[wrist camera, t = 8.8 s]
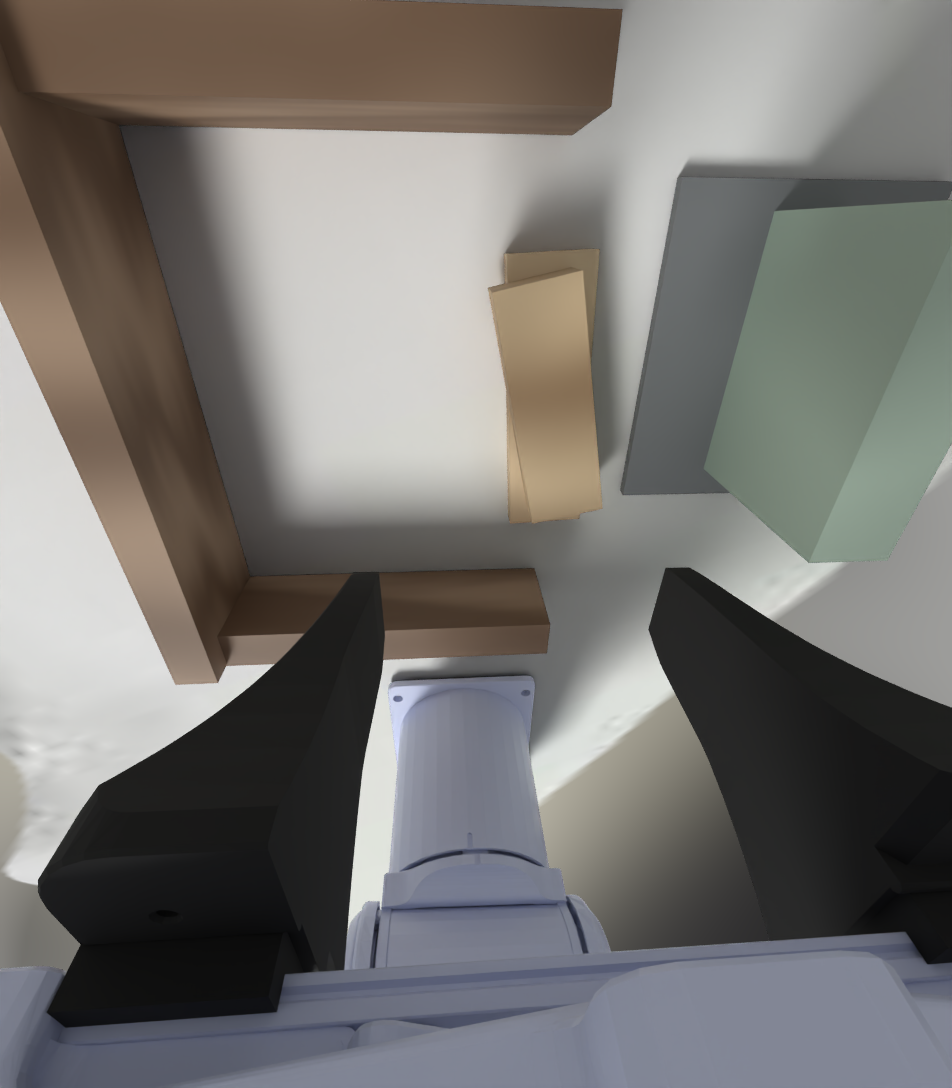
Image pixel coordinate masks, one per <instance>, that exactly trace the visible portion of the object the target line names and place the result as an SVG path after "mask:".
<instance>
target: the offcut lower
mask: <svg viewBox="0 0 952 1088" xmlns="http://www.w3.org/2000/svg"><path fill="white" fill-rule="evenodd" d="M599 251H600V249H578V250H561V251H544V252H526V253H509V254H504V262H505V283H509V282H514V281H518V280H522V279H526V278H530V277H534V276H538V275H542V274H546V273H550V272H554V271H558V270H562V269H566V268H570V267H573V268H576V269H580V270H583V278H584V290H585V302H586V315H587V327H588V339H589V351H590V363H591V357H592V344H593V330H594V317H595V304H596V291H597V277H598V264H599ZM506 403H507V473H508V517H509V521H510V524H512V523H526V522H532V521H531V517H530V514H529V511H528V508H527V504H526V498H525V493H524V487H523V481H522V476H521V470H520V465H519V459H518V453H517V448H516V442H515V437H514V431H513V425H512V420H511V414H510V408H509V403H508V397H507V392H506ZM579 516H580V514H576V515H571V516H566V517H562V518H557V519H552V520H548V521H553V520H567V519H579Z"/></svg>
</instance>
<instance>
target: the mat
mask: <svg viewBox="0 0 952 1088" xmlns="http://www.w3.org/2000/svg"><path fill="white" fill-rule="evenodd" d="M951 191H952V182H947V181H889V180H832V179H774V178H717V177H680V178H677V184H676V189H675V194H674V200H673V205H672V211H671V216H670V222H669V227H668V233H667V238H666V244H665V249H664V255H663V260H662V266H661V271H660V277H659V282H658V287H657V293H656V298H655V304H654V309H653V315H652V320H651V326H650V331H649V337H648V342H647V348H646V353H645V359H644V364H643V369H642V375H641V380H640V386H639V391H638V397H637V402H636V408H635V413H634V419H633V424H632V430H631V435H630V441H629V446H628V451H627V457H626V462H625V468H624V473H623V479H622V484H621V490H620V491H621V493H622V494H623V495H649V494H697V493H730V492H729V491H728V490H727V489H726V488H724V487H723V486H722V485H721V484H720V483H719V482H718V481H717V480H715V479H714V478H713V477H712V476H711V475H710V474H709V473H708V472H707V471H705V470H704V465H705V462H706V458H707V454H708V451H709V447H710V444H711V440H712V436H713V433H714V429H715V425H716V422H717V418H718V414H719V411H720V407H721V404H722V400H723V396H724V393H725V389H726V385H727V382H728V378H729V375H730V371H731V367H732V364H733V360H734V356H735V353H736V349H737V346H738V342H739V338H740V335H741V331H742V327H743V324H744V320H745V316H746V313H747V309H748V306H749V302H750V298H751V295H752V291H753V287H754V284H755V280H756V277H757V273H758V269H759V266H760V262H761V258H762V255H763V251H764V247H765V244H766V240H767V237H768V233H769V229H770V226H771V222H772V218H773V215H774V211H784V210H799V209H815V208H831V207H847V206H863V205H879V204H894V203H910V202H926V201H942V200H948V198H949V196H950V194H951Z"/></svg>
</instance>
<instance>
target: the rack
mask: <svg viewBox="0 0 952 1088" xmlns="http://www.w3.org/2000/svg"><path fill="white" fill-rule="evenodd" d="M622 10H623V9H599V8H573V7H546V6H519V5H492V4H465V3H438V2H412V1H385V0H0V302H1V304H2V306H3V308H4V310H5V313H6V315H7V317H8V319H9V321H10V324H11V326H12V328H13V330H14V332H15V335H16V337H17V339H18V341H19V343H20V345H21V348H22V350H23V352H24V354H25V356H26V359H27V361H28V363H29V365H30V367H31V370H32V372H33V374H34V376H35V378H36V380H37V383H38V385H39V387H40V389H41V391H42V394H43V396H44V398H45V400H46V402H47V405H48V407H49V409H50V411H51V413H52V416H53V418H54V420H55V422H56V424H57V426H58V429H59V431H60V433H61V435H62V437H63V440H64V442H65V444H66V446H67V448H68V451H69V453H70V455H71V457H72V459H73V461H74V464H75V466H76V468H77V470H78V472H79V475H80V477H81V479H82V481H83V483H84V486H85V488H86V490H87V492H88V494H89V496H90V499H91V501H92V503H93V505H94V507H95V510H96V512H97V514H98V516H99V518H100V521H101V523H102V525H103V527H104V529H105V531H106V534H107V536H108V538H109V540H110V542H111V545H112V547H113V549H114V551H115V553H116V556H117V558H118V560H119V562H120V564H121V566H122V569H123V571H124V573H125V575H126V577H127V580H128V582H129V584H130V586H131V588H132V591H133V593H134V595H135V597H136V599H137V601H138V604H139V606H140V608H141V610H142V612H143V615H144V617H145V619H146V621H147V623H148V626H149V628H150V630H151V632H152V634H153V636H154V639H155V641H156V643H157V645H158V647H159V650H160V652H161V654H162V656H163V658H164V661H165V663H166V665H167V667H168V669H169V672H170V674H171V676H172V678H173V680H174V682H175V685H180V684H204V683H218V681H219V679H220V677H221V675H222V673H223V671H224V669H225V667H226V666H235V665H261V664H276V663H277V662H278V661H279V660H280V659H281V658H282V657H283V656H284V655H285V654H286V653H287V652H288V651H289V650H290V649H291V647H292V646H293V645H294V644H295V643H296V642H297V641H298V640H299V639H300V638H301V637H302V636H303V635H304V634H305V632H306V631H307V630H308V629H309V628H310V627H311V626H312V624H313V623H314V622H315V621H316V620H317V618H318V617H319V616H320V615H321V614H322V612H323V611H324V610H325V609H326V608H327V606H328V605H329V604H330V602H331V601H332V600H333V598H334V597H335V596H336V595H337V593H338V592H339V591H340V589H341V588H342V586H343V585H344V584H345V582H346V581H347V579H348V578H349V577H350V576H351V575H352V574H321V575H286V576H252V577H250V574H249V571H248V568H247V564H246V561H245V557H244V554H243V550H242V547H241V543H240V540H239V537H238V533H237V530H236V526H235V523H234V519H233V516H232V513H231V509H230V506H229V502H228V499H227V495H226V492H225V489H224V485H223V482H222V478H221V475H220V471H219V468H218V465H217V461H216V458H215V454H214V451H213V447H212V444H211V440H210V437H209V434H208V430H207V427H206V423H205V420H204V416H203V413H202V410H201V406H200V403H199V399H198V396H197V392H196V389H195V386H194V382H193V379H192V375H191V372H190V368H189V365H188V361H187V358H186V355H185V351H184V348H183V344H182V341H181V337H180V334H179V331H178V327H177V324H176V320H175V317H174V313H173V310H172V307H171V303H170V300H169V296H168V293H167V289H166V286H165V282H164V279H163V276H162V272H161V269H160V265H159V262H158V258H157V255H156V252H155V248H154V245H153V241H152V238H151V234H150V231H149V228H148V224H147V221H146V217H145V214H144V210H143V207H142V204H141V200H140V197H139V193H138V190H137V186H136V183H135V179H134V176H133V173H132V169H131V166H130V162H129V159H128V155H127V152H126V149H125V145H124V142H123V138H122V135H121V131H120V128H119V125H137V126H182V127H228V128H273V129H318V130H363V131H409V132H454V133H499V134H544V135H573V134H575V133H576V132H577V131H579V130H580V129H581V128H583V127H584V126H585V125H587V124H588V123H590V122H591V121H592V120H594V119H595V118H596V117H598V116H599V115H601V114H602V113H603V112H605V111H606V110H607V109H609V108H610V107H611V104H612V95H613V87H614V78H615V70H616V61H617V53H618V44H619V36H620V27H621V19H622ZM379 577H380V587H381V598H382V609H383V619H384V630H385V642H384V655H383V660H388V659H413V658H439V657H464V656H490V655H515V654H541V653H547V648H548V639H549V631H550V622H549V619H548V615H547V612H546V608H545V605H544V601H543V597H542V594H541V590H540V587H539V583H538V580H537V576H536V573H535V569H534V568H526V569H492V570H458V571H423V572H389V573H379Z"/></svg>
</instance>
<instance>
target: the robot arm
mask: <svg viewBox="0 0 952 1088" xmlns="http://www.w3.org/2000/svg"><path fill="white" fill-rule="evenodd" d="M649 632H650V635H651V638H652V641H653V645H654V648H655V650H656V653H657V656H658V659H659V661H660V664H661V666H662V668H663V670H664V672H665V674H666V676H667V678H668V680H669V682H670V684H671V686H672V688H673V690H674V692H675V694H676V696H677V698H678V700H679V702H680V704H681V705H682V707H683V709H684V711H685V713H686V715H687V717H688V719H689V721H690V723H691V725H692V727H693V729H694V731H695V732H696V734H697V736H698V738H699V740H700V742H701V744H702V747H703V749H704V751H705V753H706V755H707V757H708V759H709V762H710V765H711V767H712V769H713V772H714V775H715V777H716V780H717V782H718V785H719V788H720V790H721V793H722V795H723V798H724V801H725V803H726V806H727V809H728V812H729V815H730V817H731V820H732V823H733V826H734V828H735V831H736V834H737V837H738V840H739V843H740V846H741V849H742V852H743V855H744V858H745V861H746V864H747V867H748V870H749V873H750V876H751V880H752V883H753V886H754V889H755V893H756V895H757V899H758V903H759V906H760V910H761V913H762V917H763V920H764V923H765V927H766V930H767V934H768V937H769V941H762V942H748V943H733V944H719V945H704V946H691V947H690V946H689V947H676V948H661V949H647V950H632V951H617V952H611V951H610V948H609V945H608V941H607V939H606V936H605V933H604V931H603V929H602V927H601V924H600V922H599V921H598V919H597V918H596V916H595V915H594V914H593V913H592V912H591V910H590V909H589V908H588V907H587V905H586V903H585V902H584V901H583V900H582V899H581V897H579V896H577V895H566V894H565V889H564V884H563V879H562V873H561V870H560V869H559V868H549V865H548V859H547V853H546V847H545V841H544V836H543V830H542V824H541V819H540V812H539V807H538V801H537V795H536V789H535V783H534V778H533V772H532V766H531V760H530V755H529V749H528V748H529V739H530V729H531V720H532V710H533V701H534V691H535V683H534V679H533V678H532V677H530V676H503V677H480V678H456V679H432V680H408V681H394V682H392V683H390V685H389V688H388V696H389V704H390V712H391V720H392V728H393V736H394V744H395V752H396V760H397V778H396V791H395V804H394V817H393V829H392V842H391V855H390V868H389V873H386V874H385V875H384V885H383V896H382V908H381V909H382V910H380V902H379V901H368V902H366V903H365V904H364V905H363V908H362V911H360V912H359V913H358V914H357V915H356V916H355V917H354V919H353V920H352V921H351V923H350V926H349V930H348V934H347V928H348V915H349V903H350V891H351V880H352V868H353V857H354V847H355V836H356V826H357V816H358V806H359V797H360V787H361V778H362V770H363V764H364V758H365V752H366V747H367V743H368V738H369V733H370V728H371V723H372V719H373V714H374V709H375V704H376V699H377V694H378V689H379V684H380V679H381V674H382V666H383V655H384V642H385V630H384V619H383V609H382V598H381V587H380V577H379V572H354V573H353V574H352V575H351V576H350V577H349V578H348V579H347V581H346V582H345V584H344V585H343V586H342V588H341V589H340V591H339V592H338V593H337V595H336V596H335V597H334V598H333V600H332V601H331V602H330V604H329V605H328V606H327V608H326V609H325V610H324V611H323V612H322V614H321V615H320V616H319V617H318V618H317V620H316V621H315V622H314V623H313V624H312V626H311V627H310V628H309V629H308V630H307V631H306V632H305V634H304V635H303V636H302V637H301V638H300V639H299V640H298V641H297V642H296V643H295V644H294V645H293V646H292V647H291V649H290V650H289V651H288V652H287V653H286V654H285V655H284V656H283V657H282V658H281V659H280V660H279V661H278V662H277V663H276V664H275V665H274V666H272V667H271V668H270V669H269V670H268V671H267V672H266V673H265V674H264V675H263V676H262V677H260V678H259V679H258V680H257V681H256V682H255V683H254V684H252V685H251V686H250V687H249V688H248V689H246V690H245V691H244V692H243V693H241V694H240V695H239V696H237V697H236V698H235V699H234V700H232V701H231V702H230V703H228V704H227V705H226V706H225V707H223V708H222V709H221V710H219V711H218V712H217V713H215V714H214V715H213V716H211V717H210V718H208V719H207V720H205V721H204V722H203V723H201V724H200V725H198V726H197V727H195V728H194V729H192V730H191V731H189V732H188V733H186V734H185V735H183V736H182V737H180V738H179V739H177V740H176V741H174V742H173V743H171V744H169V745H168V746H166V747H165V748H163V749H161V750H160V751H158V752H156V753H155V754H153V755H151V756H150V757H148V758H146V759H144V760H143V761H141V762H139V763H137V764H136V765H134V766H132V767H130V768H129V769H127V770H125V771H123V772H122V773H120V774H118V775H117V776H115V777H113V778H111V779H109V780H108V781H106V782H104V783H102V784H100V785H99V786H98V787H97V789H96V790H95V791H94V793H93V794H92V796H91V797H90V798H89V800H88V801H87V803H86V804H85V805H84V807H83V808H82V810H81V811H80V813H79V814H78V816H77V817H76V819H75V821H74V822H73V824H72V826H71V827H70V829H69V830H68V832H67V834H66V835H65V837H64V839H63V840H62V842H61V843H60V845H59V847H58V848H57V850H56V852H55V853H54V855H53V856H52V858H51V860H50V861H49V863H48V865H47V866H46V868H45V869H44V871H43V873H42V874H41V876H40V878H39V879H38V893H39V896H40V898H41V899H42V901H43V903H44V905H45V906H46V908H47V909H48V910H49V911H50V912H51V914H52V915H53V916H54V917H55V918H56V919H57V920H58V921H59V922H60V923H61V924H62V925H63V926H64V927H65V928H66V929H67V930H68V931H69V933H70V934H71V935H72V936H73V937H74V938H75V939H76V940H77V941H78V942H79V943H80V944H81V945H80V947H79V950H78V951H77V953H76V955H75V957H74V959H73V961H72V963H71V965H70V967H69V969H68V971H67V972H66V971H64V970H63V969H59V968H54V967H48V966H31V967H16V968H1V969H0V1088H952V708H951V707H948V706H946V705H943V704H940V703H938V702H935V701H932V700H930V699H928V698H925V697H923V696H920V695H918V694H915V693H913V692H910V691H908V690H906V689H903V688H901V687H899V686H896V685H894V684H892V683H889V682H887V681H885V680H883V679H881V678H878V677H876V676H874V675H871V674H869V673H867V672H865V671H863V670H861V669H859V668H857V667H855V666H853V665H851V664H848V663H847V662H845V661H843V660H841V659H839V658H837V657H835V656H833V655H831V654H829V653H827V652H825V651H823V650H821V649H820V648H818V647H816V646H814V645H812V644H810V643H809V642H807V641H805V640H804V639H802V638H800V637H799V636H797V635H795V634H793V633H792V632H790V631H788V630H787V629H785V628H783V627H782V626H780V625H778V624H777V623H775V622H774V621H772V620H770V619H769V618H767V617H766V616H764V615H762V614H761V613H759V612H758V611H756V610H755V609H753V608H752V607H750V606H748V605H747V604H745V603H744V602H742V601H741V600H739V599H738V598H736V597H735V596H733V595H732V594H730V593H729V592H727V591H726V590H724V589H723V588H721V587H720V586H718V585H717V584H715V583H714V582H712V581H711V580H709V579H708V578H706V577H704V576H703V575H701V574H700V573H698V572H696V571H694V570H693V569H691V568H665V572H664V576H663V579H662V583H661V586H660V590H659V593H658V597H657V601H656V604H655V608H654V611H653V615H652V619H651V622H650V626H649ZM523 690H526V691H523ZM397 695H398V696H397Z"/></svg>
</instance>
